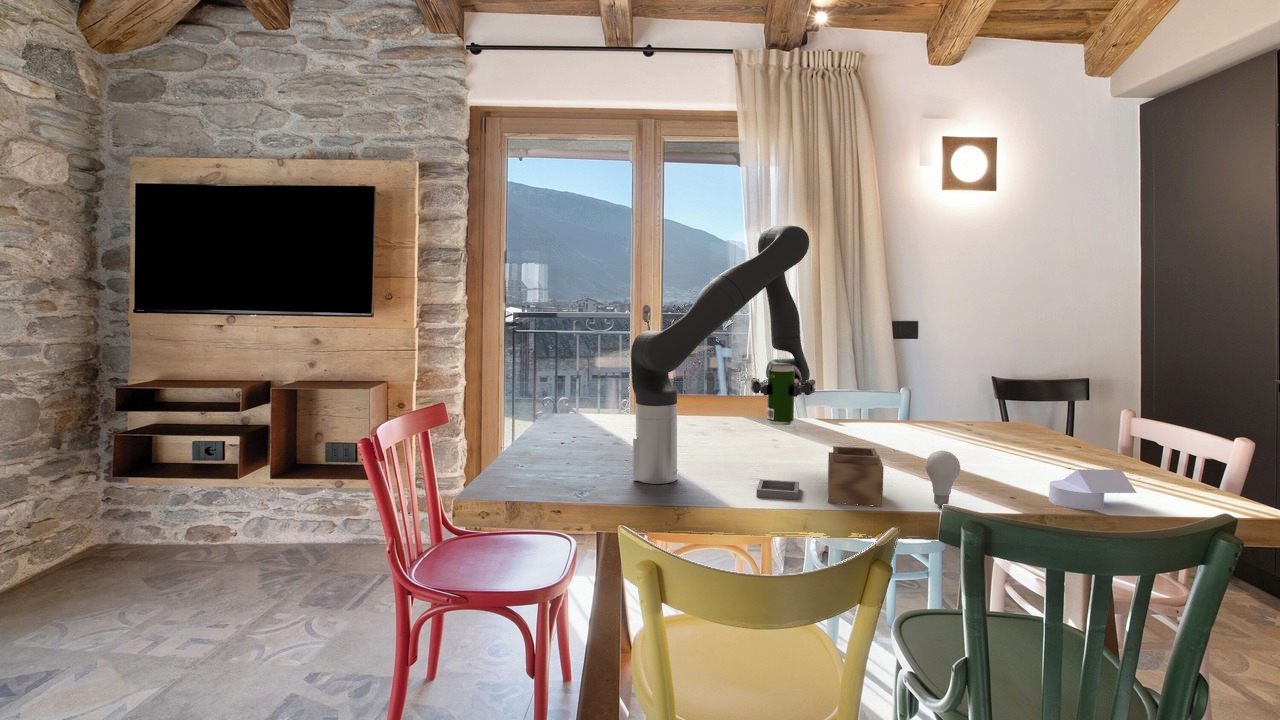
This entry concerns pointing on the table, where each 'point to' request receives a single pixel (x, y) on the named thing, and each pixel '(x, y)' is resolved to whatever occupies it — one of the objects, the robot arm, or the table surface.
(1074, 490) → the wedge on round base
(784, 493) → the charcoal holder
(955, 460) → the lightbulb
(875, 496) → the walnut stand
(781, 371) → the beer can
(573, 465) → the table surface
